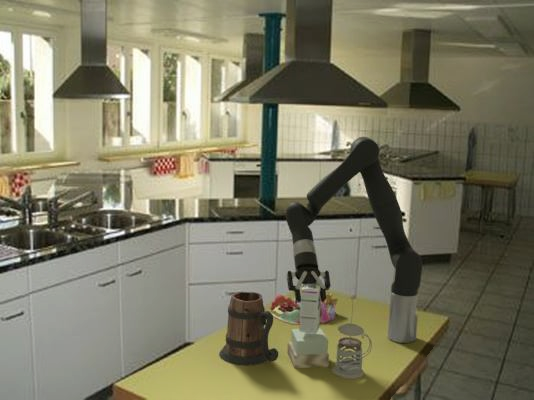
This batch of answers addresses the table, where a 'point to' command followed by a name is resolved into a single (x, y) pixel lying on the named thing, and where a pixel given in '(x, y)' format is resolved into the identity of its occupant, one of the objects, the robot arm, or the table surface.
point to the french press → (348, 365)
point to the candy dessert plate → (292, 309)
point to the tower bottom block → (307, 359)
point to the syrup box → (310, 308)
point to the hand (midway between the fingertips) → (311, 301)
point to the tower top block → (309, 342)
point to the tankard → (248, 331)
